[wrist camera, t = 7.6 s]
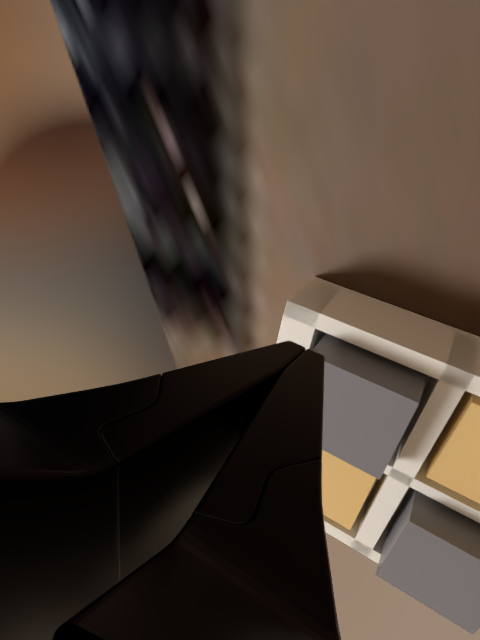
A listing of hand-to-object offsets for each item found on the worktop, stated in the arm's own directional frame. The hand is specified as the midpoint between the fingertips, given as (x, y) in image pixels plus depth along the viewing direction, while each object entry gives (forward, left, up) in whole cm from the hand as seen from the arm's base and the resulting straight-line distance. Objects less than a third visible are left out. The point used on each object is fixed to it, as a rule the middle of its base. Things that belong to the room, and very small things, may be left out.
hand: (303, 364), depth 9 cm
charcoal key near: (-1, +7, -10) cm, 12 cm away
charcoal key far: (-7, +13, -10) cm, 18 cm away
